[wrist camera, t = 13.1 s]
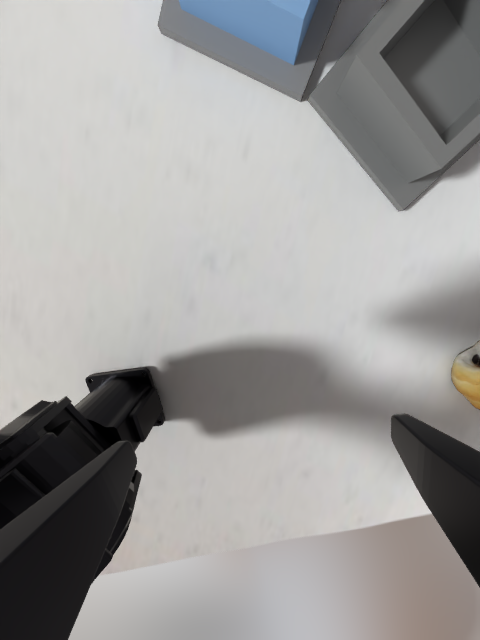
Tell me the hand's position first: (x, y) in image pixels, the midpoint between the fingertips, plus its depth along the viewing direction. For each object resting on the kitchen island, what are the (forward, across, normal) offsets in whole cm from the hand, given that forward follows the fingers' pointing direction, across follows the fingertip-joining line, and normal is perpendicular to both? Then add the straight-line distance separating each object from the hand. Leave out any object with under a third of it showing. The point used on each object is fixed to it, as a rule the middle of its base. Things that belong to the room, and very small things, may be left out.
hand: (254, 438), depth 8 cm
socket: (+13, -13, -14) cm, 23 cm away
